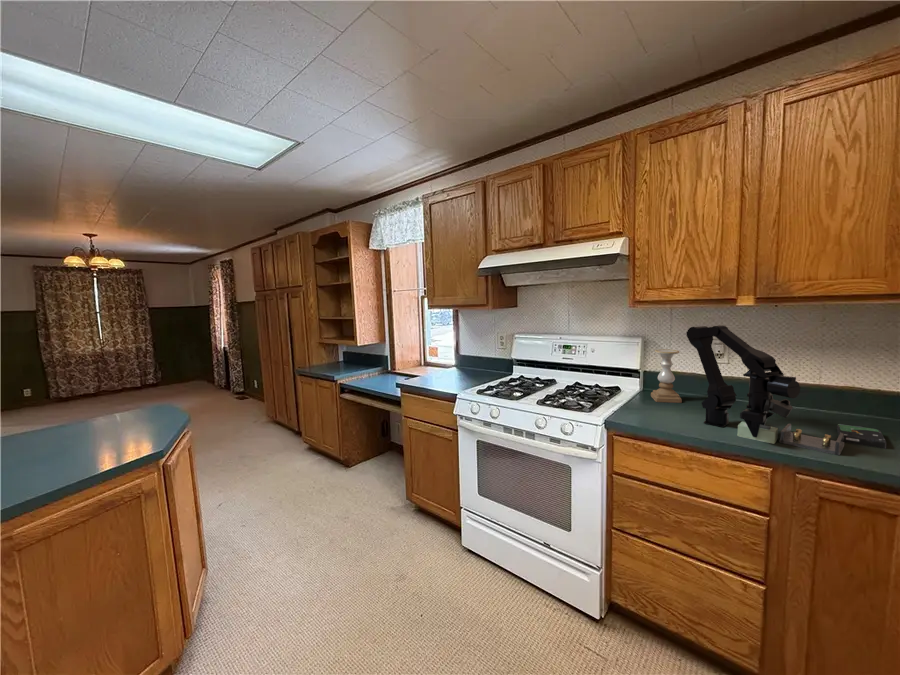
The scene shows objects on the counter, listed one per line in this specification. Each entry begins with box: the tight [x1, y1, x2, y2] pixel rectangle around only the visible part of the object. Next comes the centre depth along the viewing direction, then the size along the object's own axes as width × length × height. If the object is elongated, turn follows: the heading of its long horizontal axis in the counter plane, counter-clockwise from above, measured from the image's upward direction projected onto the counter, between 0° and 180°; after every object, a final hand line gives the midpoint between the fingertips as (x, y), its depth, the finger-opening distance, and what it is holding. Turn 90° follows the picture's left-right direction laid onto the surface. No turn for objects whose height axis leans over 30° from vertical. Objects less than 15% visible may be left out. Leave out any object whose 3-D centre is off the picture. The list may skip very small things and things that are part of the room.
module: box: [736, 421, 779, 445], centre depth 129 cm, size 10×6×5 cm, turn 41°
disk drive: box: [836, 423, 887, 450], centre depth 125 cm, size 10×3×15 cm
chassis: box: [778, 423, 845, 456], centre depth 122 cm, size 14×11×4 cm
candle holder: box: [650, 348, 683, 404], centre depth 177 cm, size 11×11×24 cm
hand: (757, 434), depth 129 cm, fingers closed on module, 6 cm apart
